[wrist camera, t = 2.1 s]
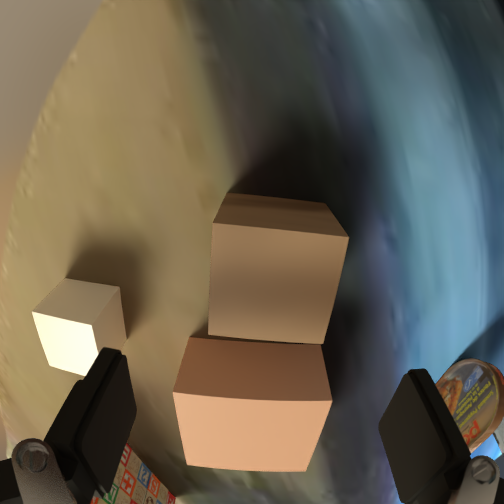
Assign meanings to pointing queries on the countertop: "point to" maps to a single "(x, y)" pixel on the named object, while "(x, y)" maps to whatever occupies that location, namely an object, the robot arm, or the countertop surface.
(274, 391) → the terracotta block
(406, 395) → the robot arm
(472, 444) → the tin
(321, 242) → the walnut cube
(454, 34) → the countertop surface
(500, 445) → the candy box
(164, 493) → the stack of blocks
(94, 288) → the off-white cube
